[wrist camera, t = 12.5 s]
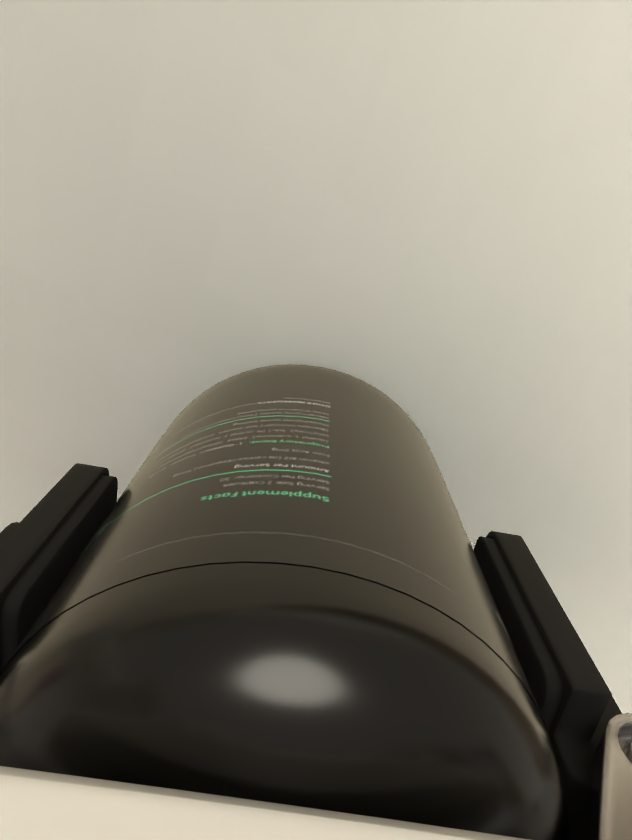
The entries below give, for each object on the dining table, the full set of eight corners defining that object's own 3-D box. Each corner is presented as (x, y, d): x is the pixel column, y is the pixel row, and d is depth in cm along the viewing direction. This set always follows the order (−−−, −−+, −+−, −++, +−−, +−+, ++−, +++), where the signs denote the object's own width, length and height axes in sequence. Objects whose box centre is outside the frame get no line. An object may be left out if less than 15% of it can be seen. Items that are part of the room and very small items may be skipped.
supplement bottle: (443, 594, 15) (765, 1687, 4) (187, 618, 16) (-158, 1671, 4) (427, 340, 13) (1113, 1298, 2) (126, 375, 13) (-948, 1341, 2)
